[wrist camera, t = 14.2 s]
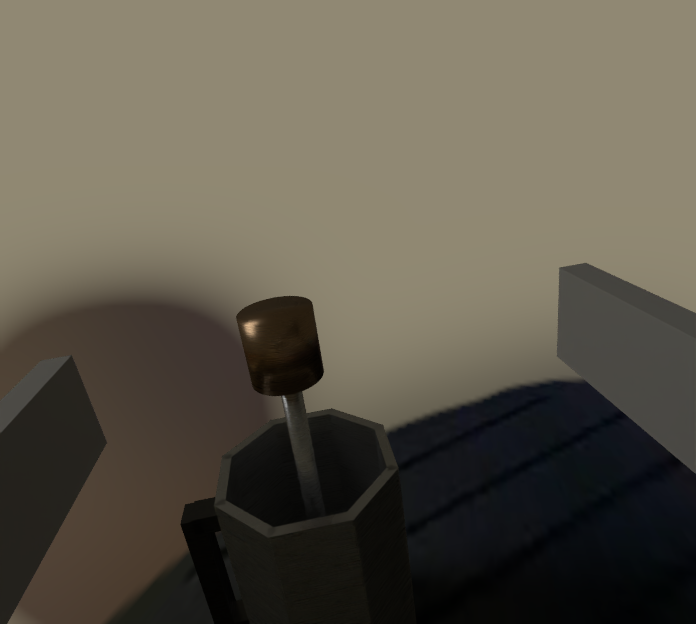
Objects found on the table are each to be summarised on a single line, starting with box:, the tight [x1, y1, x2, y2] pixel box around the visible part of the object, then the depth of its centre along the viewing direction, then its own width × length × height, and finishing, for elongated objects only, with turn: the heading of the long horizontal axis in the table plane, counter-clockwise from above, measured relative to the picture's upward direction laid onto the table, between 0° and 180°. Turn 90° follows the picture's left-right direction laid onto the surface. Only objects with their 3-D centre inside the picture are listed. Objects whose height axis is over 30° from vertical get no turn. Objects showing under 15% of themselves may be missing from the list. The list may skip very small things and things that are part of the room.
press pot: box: [181, 409, 417, 624], centre depth 32 cm, size 13×11×17 cm
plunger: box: [236, 296, 326, 520], centre depth 30 cm, size 7×7×25 cm
